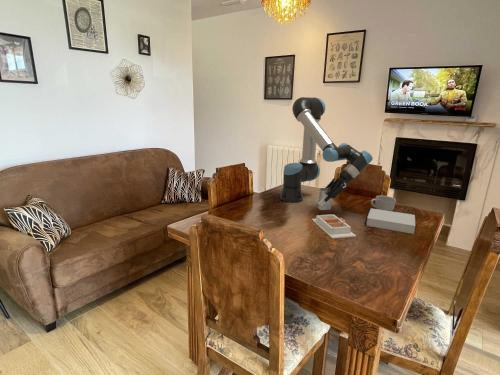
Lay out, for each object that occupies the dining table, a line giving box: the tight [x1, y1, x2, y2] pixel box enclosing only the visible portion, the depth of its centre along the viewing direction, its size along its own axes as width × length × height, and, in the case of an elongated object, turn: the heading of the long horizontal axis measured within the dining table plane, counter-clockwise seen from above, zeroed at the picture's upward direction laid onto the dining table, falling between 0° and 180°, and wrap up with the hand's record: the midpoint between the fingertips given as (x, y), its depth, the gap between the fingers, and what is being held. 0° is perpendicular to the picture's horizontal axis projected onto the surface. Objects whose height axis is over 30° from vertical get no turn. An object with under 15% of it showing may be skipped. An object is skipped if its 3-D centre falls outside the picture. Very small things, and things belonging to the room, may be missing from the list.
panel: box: [318, 187, 333, 211], centre depth 165 cm, size 6×3×12 cm, turn 102°
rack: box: [311, 213, 357, 240], centre depth 148 cm, size 12×24×4 cm, turn 12°
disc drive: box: [364, 207, 416, 235], centre depth 154 cm, size 18×22×5 cm
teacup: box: [370, 194, 397, 212], centre depth 173 cm, size 14×11×8 cm
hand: (318, 203), depth 165 cm, fingers closed on panel, 3 cm apart
